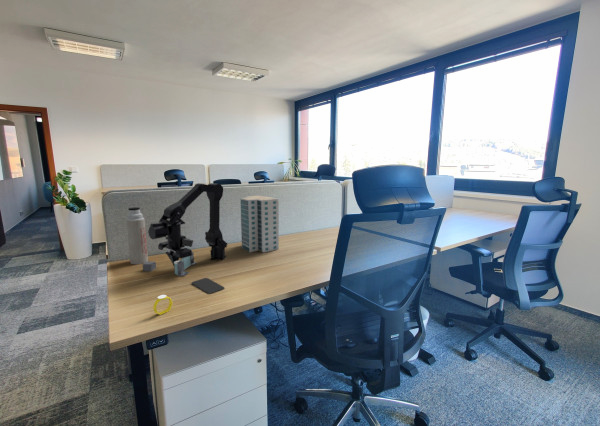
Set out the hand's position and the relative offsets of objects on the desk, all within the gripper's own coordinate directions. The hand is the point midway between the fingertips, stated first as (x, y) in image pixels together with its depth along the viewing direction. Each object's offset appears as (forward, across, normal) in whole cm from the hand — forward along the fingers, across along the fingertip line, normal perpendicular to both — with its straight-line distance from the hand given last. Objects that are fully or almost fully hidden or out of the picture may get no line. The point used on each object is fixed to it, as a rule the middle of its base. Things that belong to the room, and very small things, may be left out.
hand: (175, 266), depth 133 cm
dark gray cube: (+3, +12, +6) cm, 13 cm away
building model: (+2, -4, -50) cm, 51 cm away
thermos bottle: (+4, +27, +4) cm, 27 cm away
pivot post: (+2, +2, -10) cm, 11 cm away
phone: (+1, -26, +1) cm, 26 cm away
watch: (0, -32, +24) cm, 39 cm away
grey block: (+2, -6, +1) cm, 6 cm away
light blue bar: (+2, -2, -3) cm, 4 cm away
